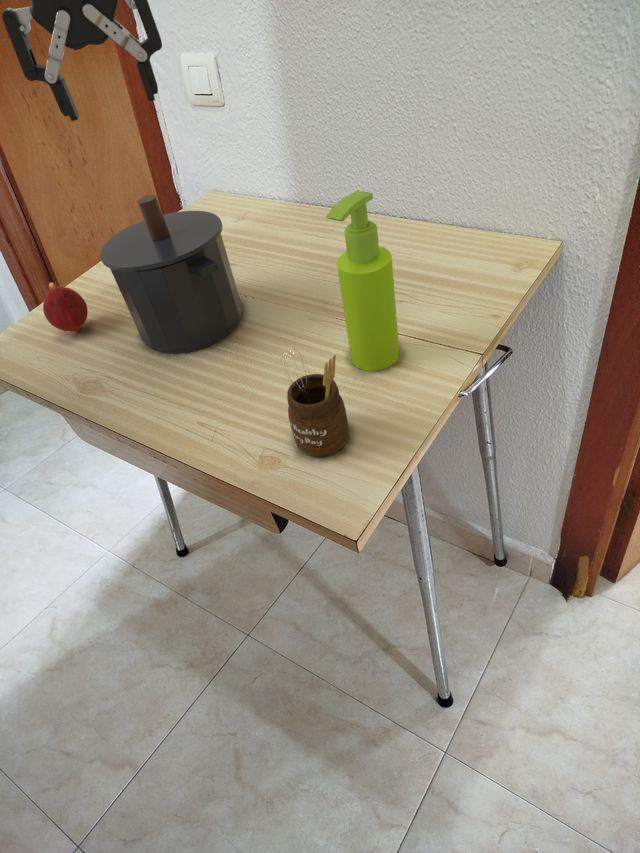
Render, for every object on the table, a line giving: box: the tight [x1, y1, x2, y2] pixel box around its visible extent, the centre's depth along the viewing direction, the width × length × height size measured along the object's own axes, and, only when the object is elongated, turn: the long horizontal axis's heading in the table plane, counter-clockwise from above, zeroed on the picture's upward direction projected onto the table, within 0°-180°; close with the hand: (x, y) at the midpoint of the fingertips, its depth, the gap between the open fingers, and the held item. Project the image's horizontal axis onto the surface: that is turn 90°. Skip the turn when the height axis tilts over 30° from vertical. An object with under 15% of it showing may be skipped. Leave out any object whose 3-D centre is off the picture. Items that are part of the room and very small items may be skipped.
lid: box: [99, 194, 223, 271], centre depth 73 cm, size 16×16×6 cm
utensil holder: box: [280, 348, 350, 458], centre depth 59 cm, size 6×6×12 cm
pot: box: [110, 229, 243, 354], centre depth 80 cm, size 15×20×12 cm
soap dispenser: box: [325, 190, 400, 372], centre depth 65 cm, size 6×7×20 cm
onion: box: [42, 282, 89, 333], centre depth 84 cm, size 6×6×8 cm
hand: (113, 109), depth 64 cm, fingers open, 8 cm apart
